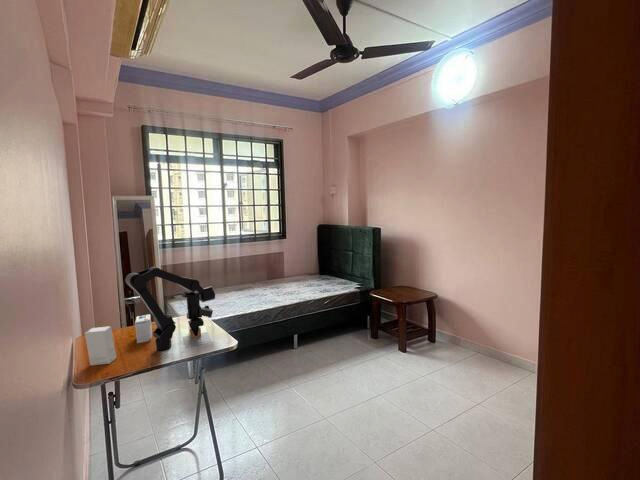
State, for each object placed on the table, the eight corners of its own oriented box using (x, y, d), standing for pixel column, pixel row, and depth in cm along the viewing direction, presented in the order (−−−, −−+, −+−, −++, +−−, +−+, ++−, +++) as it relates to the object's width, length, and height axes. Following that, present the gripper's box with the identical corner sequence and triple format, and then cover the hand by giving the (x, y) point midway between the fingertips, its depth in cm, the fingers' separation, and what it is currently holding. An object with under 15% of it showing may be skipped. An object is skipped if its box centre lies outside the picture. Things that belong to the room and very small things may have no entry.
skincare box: (116, 358, 149) (112, 325, 148) (109, 364, 143) (104, 330, 142) (97, 359, 149) (93, 326, 147) (88, 366, 143) (84, 331, 141)
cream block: (200, 328, 167) (198, 322, 175) (189, 330, 165) (188, 324, 173) (201, 335, 167) (199, 330, 175) (190, 338, 165) (188, 332, 173)
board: (212, 344, 158) (212, 342, 158) (185, 350, 153) (185, 348, 153) (204, 327, 184) (204, 324, 183) (180, 331, 178) (180, 329, 178)
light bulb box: (138, 336, 175) (135, 316, 174) (152, 333, 177) (150, 313, 176) (136, 343, 165) (134, 322, 164) (152, 340, 168) (149, 319, 167)
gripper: (213, 306, 158) (216, 338, 160) (208, 297, 175) (210, 326, 177) (188, 310, 154) (191, 343, 155) (185, 301, 170) (188, 331, 172)
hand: (196, 335), depth 165 cm, fingers closed
